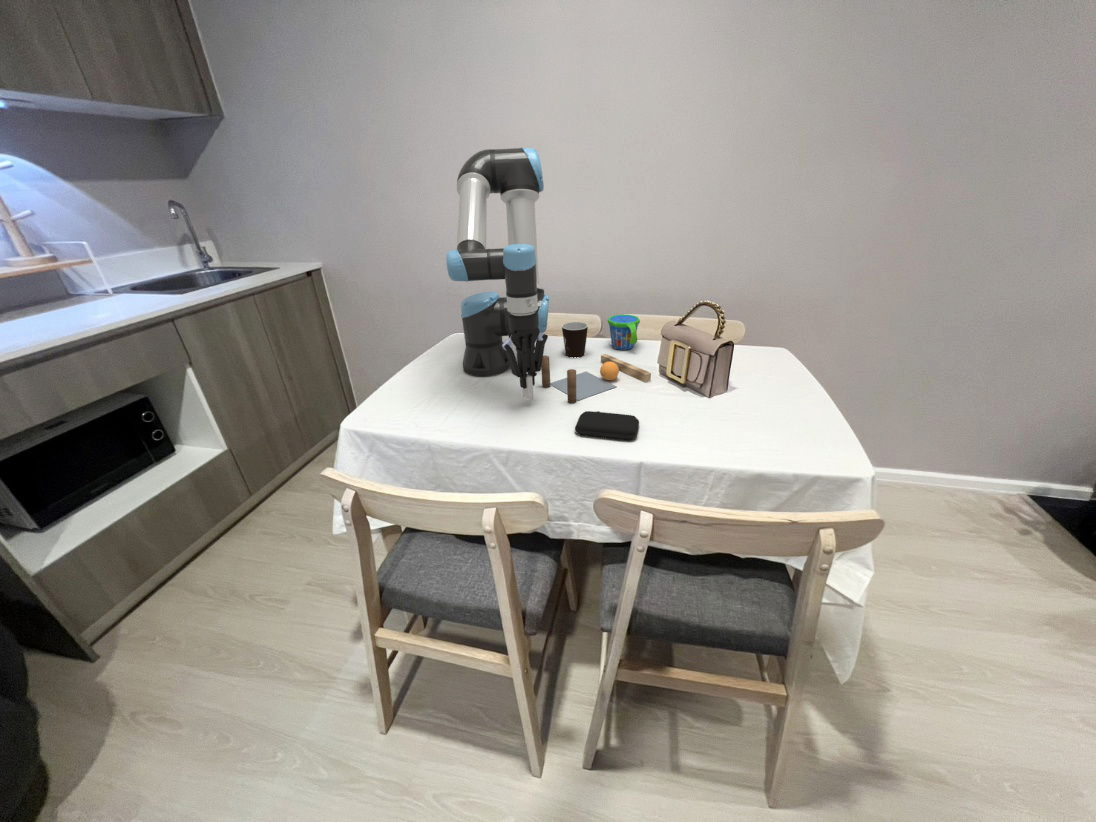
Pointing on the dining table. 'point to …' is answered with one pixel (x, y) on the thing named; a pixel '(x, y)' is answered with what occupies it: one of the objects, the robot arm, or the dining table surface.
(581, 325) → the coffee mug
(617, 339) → the snack cup
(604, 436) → the carrying case or bag
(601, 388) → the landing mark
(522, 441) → the dining table surface
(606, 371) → the ball
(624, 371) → the stopper wall
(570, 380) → the right post
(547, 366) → the left post
